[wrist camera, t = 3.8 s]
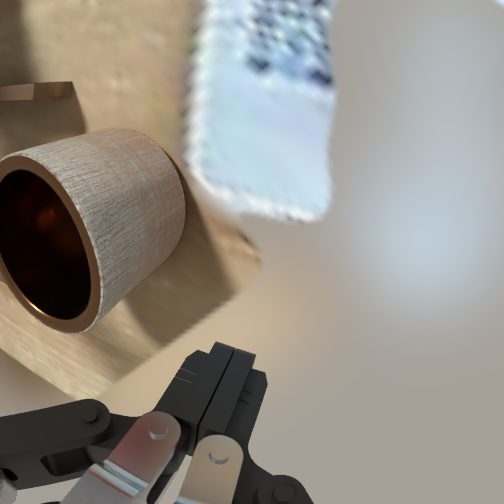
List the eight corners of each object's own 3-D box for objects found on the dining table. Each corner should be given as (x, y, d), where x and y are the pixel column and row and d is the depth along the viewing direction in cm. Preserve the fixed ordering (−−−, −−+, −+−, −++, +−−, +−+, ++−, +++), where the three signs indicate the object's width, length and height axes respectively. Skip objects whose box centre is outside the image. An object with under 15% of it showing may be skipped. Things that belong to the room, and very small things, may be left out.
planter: (150, 99, 19) (39, 107, 11) (215, 242, 22) (143, 324, 14) (58, 167, 23) (-33, 202, 15) (112, 278, 26) (39, 343, 18)
